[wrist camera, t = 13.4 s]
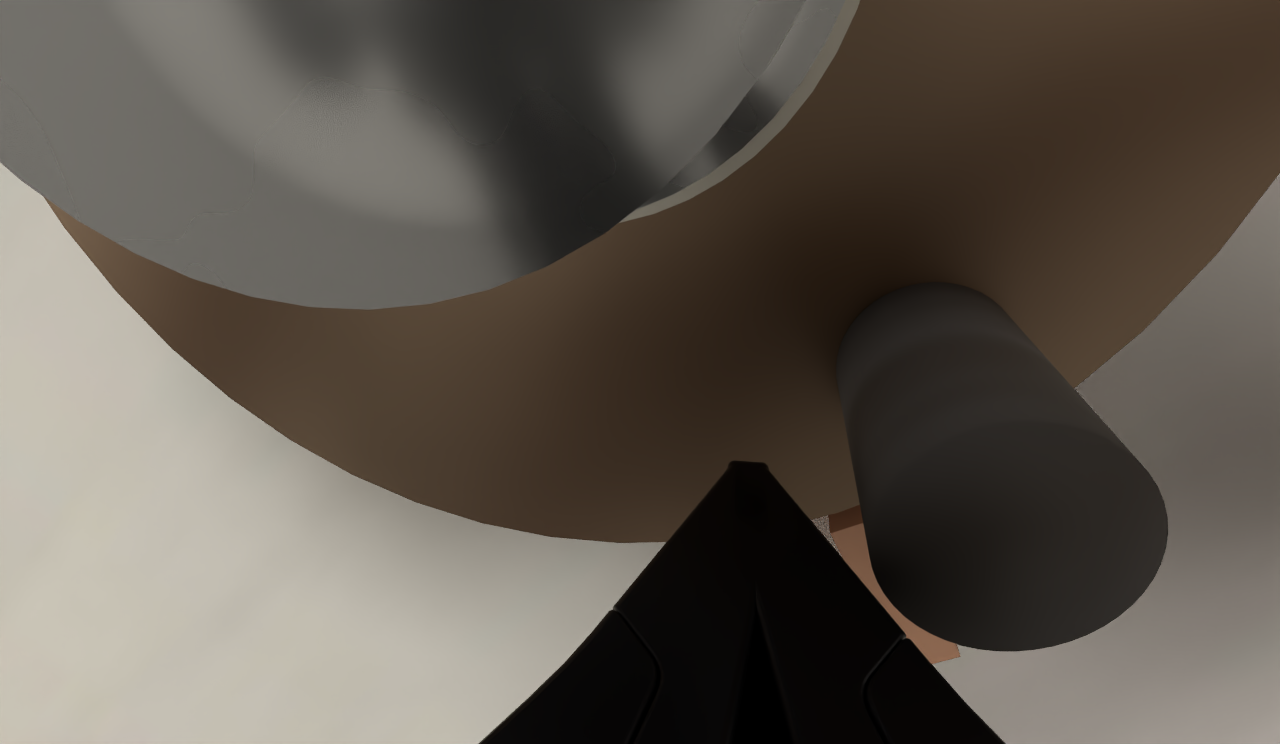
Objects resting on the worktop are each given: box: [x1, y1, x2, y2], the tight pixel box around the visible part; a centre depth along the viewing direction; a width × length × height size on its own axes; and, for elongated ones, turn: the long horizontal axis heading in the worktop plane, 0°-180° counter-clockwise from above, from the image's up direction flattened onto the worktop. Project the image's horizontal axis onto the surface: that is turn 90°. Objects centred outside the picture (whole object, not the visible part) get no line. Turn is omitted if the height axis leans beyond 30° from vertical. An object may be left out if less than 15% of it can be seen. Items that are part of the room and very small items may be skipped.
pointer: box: [828, 505, 960, 664], centre depth 13 cm, size 3×1×2 cm, turn 29°
